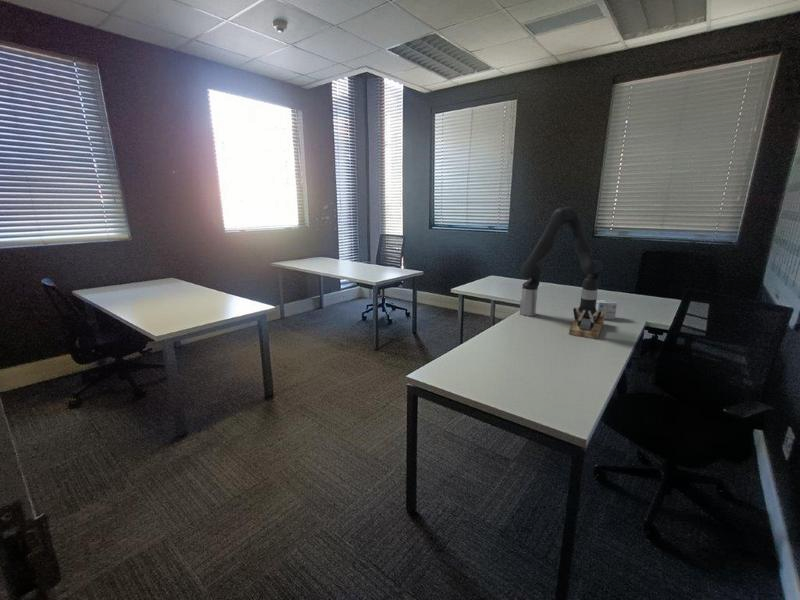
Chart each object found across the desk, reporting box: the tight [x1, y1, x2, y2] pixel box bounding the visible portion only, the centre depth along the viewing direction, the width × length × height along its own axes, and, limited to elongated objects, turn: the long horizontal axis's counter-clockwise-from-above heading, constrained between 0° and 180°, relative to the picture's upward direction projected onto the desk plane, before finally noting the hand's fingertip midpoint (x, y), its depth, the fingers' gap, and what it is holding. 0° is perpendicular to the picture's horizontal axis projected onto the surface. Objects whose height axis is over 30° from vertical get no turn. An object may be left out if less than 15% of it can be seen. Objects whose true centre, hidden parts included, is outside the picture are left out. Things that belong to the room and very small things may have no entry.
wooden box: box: [568, 310, 605, 340], centre depth 207 cm, size 14×30×7 cm, turn 147°
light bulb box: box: [596, 299, 618, 320], centre depth 226 cm, size 11×7×11 cm, turn 84°
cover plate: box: [579, 318, 591, 331], centre depth 202 cm, size 5×14×3 cm, turn 147°
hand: (585, 327), depth 198 cm, fingers closed on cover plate, 5 cm apart
